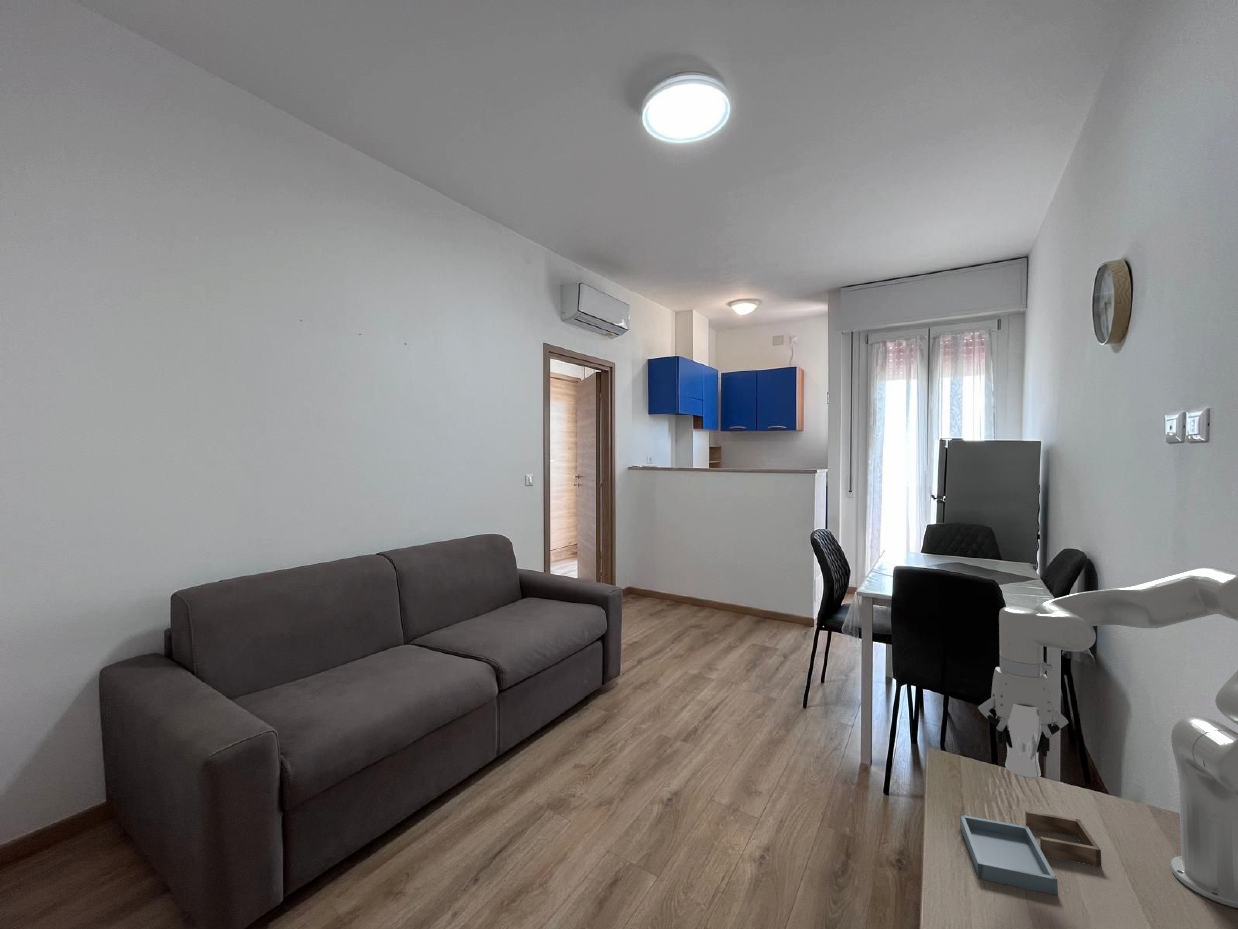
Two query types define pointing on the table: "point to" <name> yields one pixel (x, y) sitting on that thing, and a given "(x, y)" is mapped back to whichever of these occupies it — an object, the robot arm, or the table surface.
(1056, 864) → the table surface
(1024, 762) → the silver metal cup
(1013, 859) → the slate tray
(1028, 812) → the walnut bay
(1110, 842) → the table surface
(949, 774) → the table surface
